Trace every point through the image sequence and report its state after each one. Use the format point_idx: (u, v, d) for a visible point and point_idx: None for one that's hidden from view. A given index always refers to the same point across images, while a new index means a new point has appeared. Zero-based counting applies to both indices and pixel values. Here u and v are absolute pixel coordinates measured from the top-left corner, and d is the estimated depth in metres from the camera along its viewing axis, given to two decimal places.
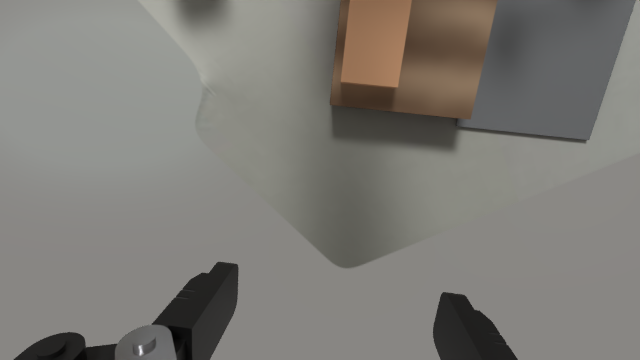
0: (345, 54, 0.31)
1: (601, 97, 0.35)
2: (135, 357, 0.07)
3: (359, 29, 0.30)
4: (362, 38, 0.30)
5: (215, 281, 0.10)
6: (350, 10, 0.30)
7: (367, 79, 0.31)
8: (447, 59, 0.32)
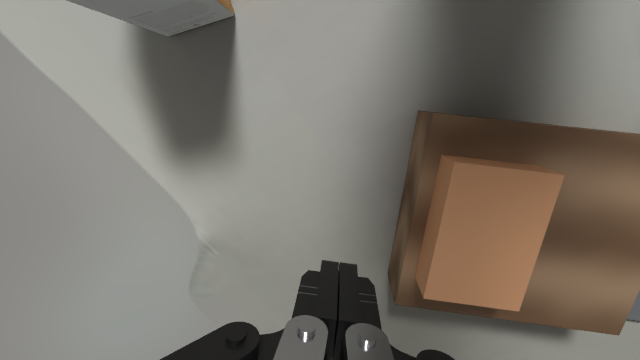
0: (434, 261, 0.18)
1: None
2: (307, 344, 0.08)
3: (462, 228, 0.18)
4: (465, 241, 0.18)
5: (331, 278, 0.11)
6: (449, 200, 0.17)
7: (469, 297, 0.19)
8: (592, 254, 0.20)
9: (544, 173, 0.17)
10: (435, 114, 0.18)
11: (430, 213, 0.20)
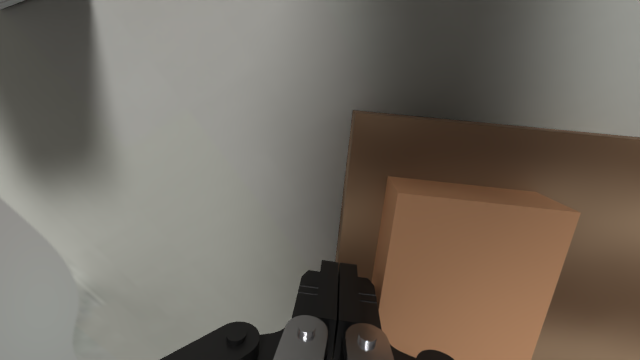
0: None
1: None
2: (307, 344, 0.08)
3: (417, 295, 0.11)
4: (422, 315, 0.11)
5: (331, 278, 0.11)
6: (393, 252, 0.11)
7: None
8: (605, 320, 0.13)
9: (546, 210, 0.10)
10: (359, 114, 0.12)
11: (375, 263, 0.13)
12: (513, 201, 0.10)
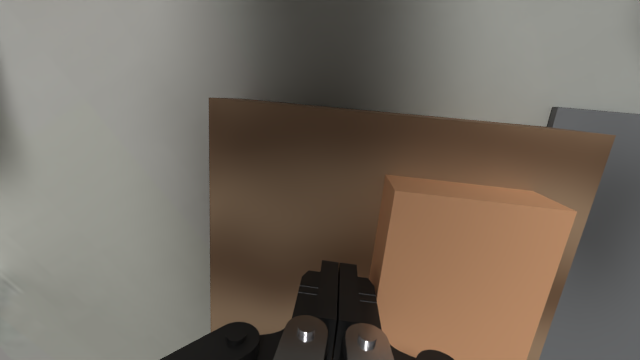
0: None
1: None
2: (307, 344, 0.08)
3: (413, 293, 0.11)
4: (419, 313, 0.11)
5: (331, 278, 0.11)
6: (390, 250, 0.11)
7: None
8: None
9: (543, 209, 0.10)
10: (212, 99, 0.12)
11: (373, 261, 0.13)
12: (510, 200, 0.10)
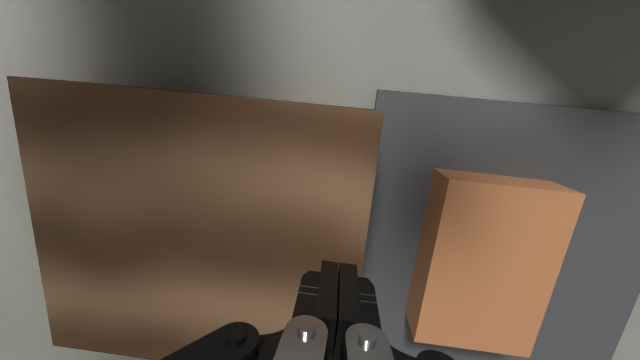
0: None
1: (627, 313, 0.17)
2: (307, 344, 0.08)
3: None
4: None
5: (331, 278, 0.11)
6: None
7: None
8: (278, 276, 0.14)
9: (454, 171, 0.16)
10: (10, 77, 0.13)
11: None
12: (474, 174, 0.15)
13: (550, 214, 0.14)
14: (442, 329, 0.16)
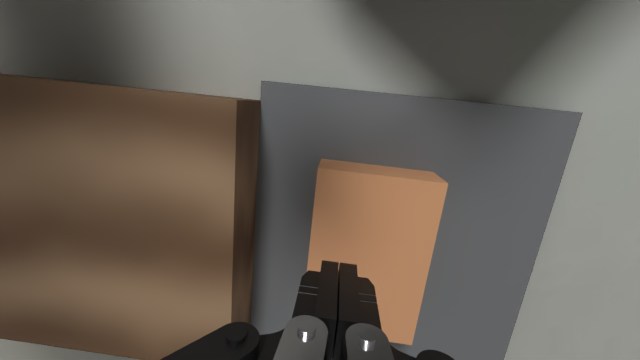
0: None
1: (518, 303, 0.17)
2: (307, 344, 0.08)
3: None
4: None
5: (331, 278, 0.11)
6: None
7: None
8: (154, 262, 0.14)
9: (340, 161, 0.16)
10: None
11: None
12: (356, 164, 0.16)
13: (417, 202, 0.14)
14: None
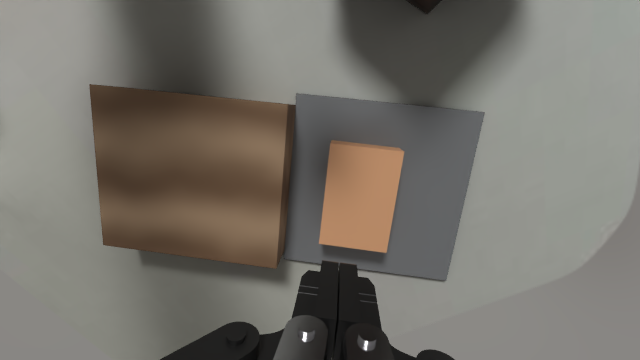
0: None
1: (455, 232, 0.28)
2: (307, 344, 0.08)
3: None
4: None
5: (331, 278, 0.11)
6: None
7: None
8: (235, 198, 0.25)
9: (343, 142, 0.27)
10: (91, 85, 0.24)
11: None
12: (353, 143, 0.26)
13: (387, 163, 0.24)
14: (334, 235, 0.26)
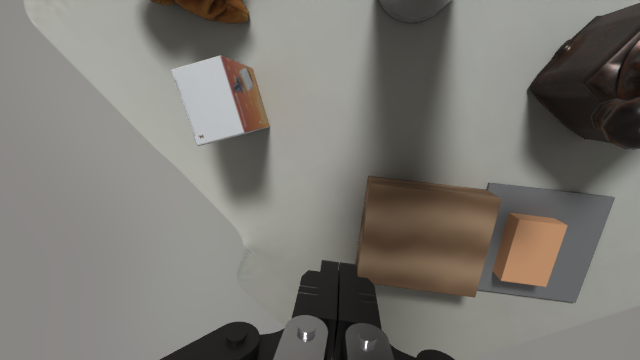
0: None
1: (585, 271, 0.42)
2: (307, 344, 0.08)
3: None
4: None
5: (331, 278, 0.11)
6: None
7: None
8: (455, 253, 0.39)
9: (517, 214, 0.40)
10: (372, 184, 0.37)
11: None
12: (525, 215, 0.40)
13: (555, 231, 0.38)
14: (512, 275, 0.40)
